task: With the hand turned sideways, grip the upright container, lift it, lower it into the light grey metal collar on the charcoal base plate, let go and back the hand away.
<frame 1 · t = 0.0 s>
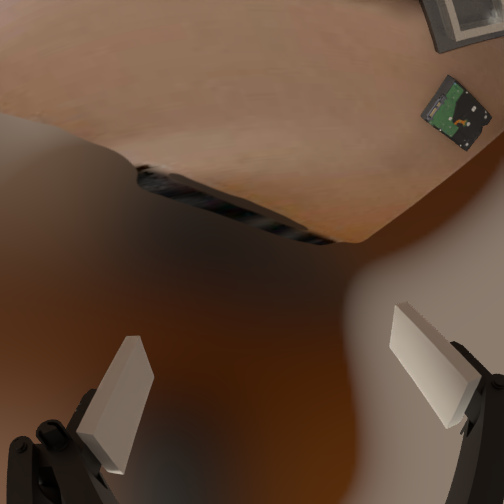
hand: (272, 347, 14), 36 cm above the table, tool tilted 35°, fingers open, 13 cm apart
disk drive: (454, 111, 40), on the table
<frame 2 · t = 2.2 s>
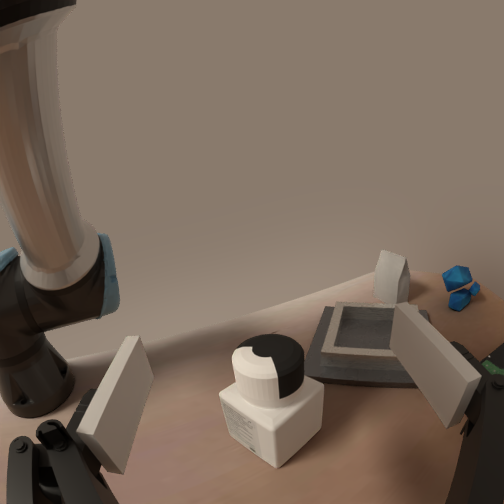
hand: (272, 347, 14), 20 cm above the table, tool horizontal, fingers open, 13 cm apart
tea bag: (390, 300, 55), on the table
container: (275, 434, 29), on the table
blue lump: (457, 306, 48), on the table
collar plate: (374, 344, 43), on the table
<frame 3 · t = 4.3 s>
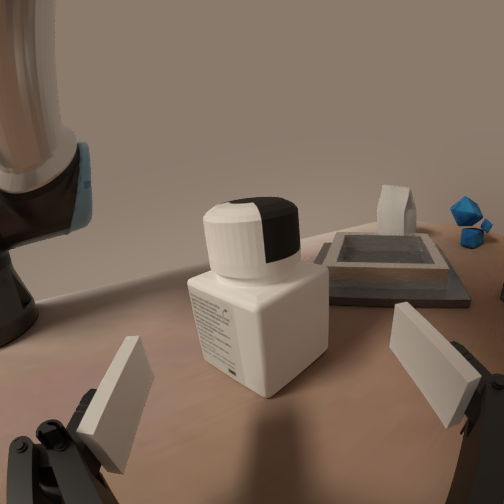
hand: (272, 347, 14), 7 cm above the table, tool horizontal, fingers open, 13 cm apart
tea bag: (396, 241, 50), on the table
container: (266, 358, 24), on the table
blue lump: (470, 245, 43), on the table
collar plate: (383, 271, 37), on the table
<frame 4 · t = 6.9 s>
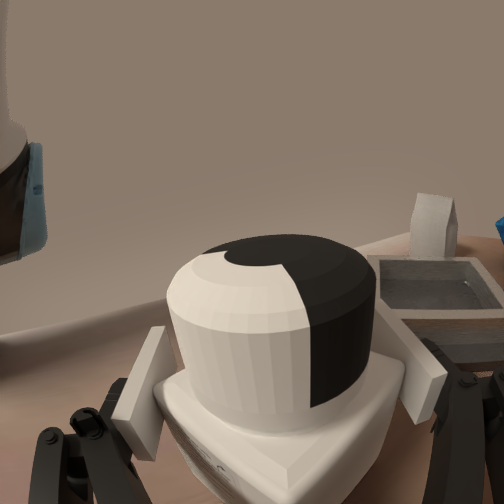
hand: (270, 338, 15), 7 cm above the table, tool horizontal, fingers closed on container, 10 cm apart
tea bag: (431, 261, 39), on the table
container: (286, 474, 13), on the table, touching gripper
collar plate: (430, 311, 26), on the table
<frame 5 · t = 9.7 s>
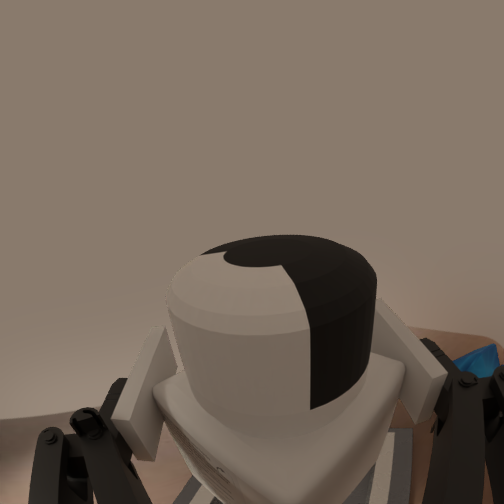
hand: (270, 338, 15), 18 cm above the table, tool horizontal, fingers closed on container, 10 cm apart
container: (286, 475, 13), point 11 cm above the table, touching gripper
blue lump: (468, 406, 24), on the table
when the fingers open (9 cm above the table, at t = 12.5 s): container drops 1 cm, resting on collar plate.
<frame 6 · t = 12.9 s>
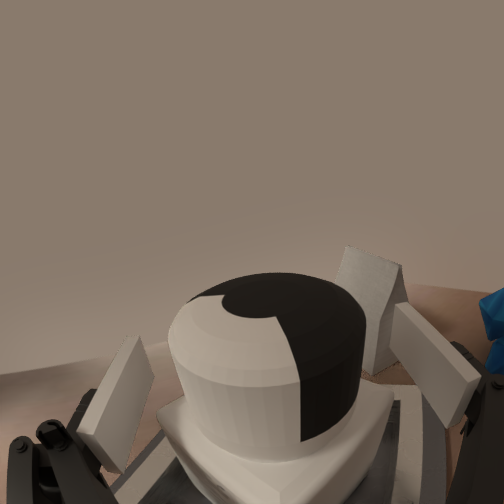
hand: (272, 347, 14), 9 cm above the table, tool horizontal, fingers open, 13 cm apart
tea bag: (364, 352, 26), on the table
container: (282, 486, 13), point 1 cm above the table, touching collar plate
blue lump: (501, 363, 19), on the table
collar plate: (286, 488, 14), on the table
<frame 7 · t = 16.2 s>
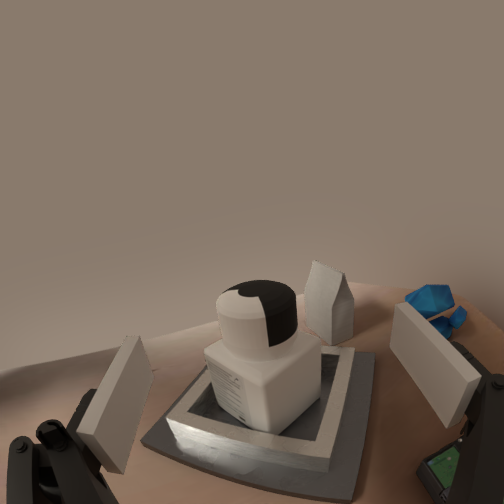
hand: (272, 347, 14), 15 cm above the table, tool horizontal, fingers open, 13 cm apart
tea bag: (328, 332, 41), on the table
container: (269, 403, 27), point 1 cm above the table, touching collar plate
blue lump: (430, 342, 33), on the table
collar plate: (272, 407, 28), on the table
disk drive: (497, 470, 12), on the table
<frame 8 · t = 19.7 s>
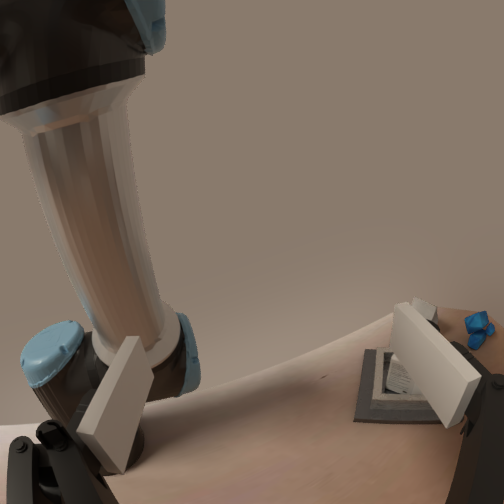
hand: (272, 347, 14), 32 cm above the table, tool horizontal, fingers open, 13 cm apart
tea bag: (418, 340, 58), on the table
container: (409, 383, 45), point 1 cm above the table, touching collar plate
blue lump: (474, 344, 51), on the table
collar plate: (409, 385, 46), on the table
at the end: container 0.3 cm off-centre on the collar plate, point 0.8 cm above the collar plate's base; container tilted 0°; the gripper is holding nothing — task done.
